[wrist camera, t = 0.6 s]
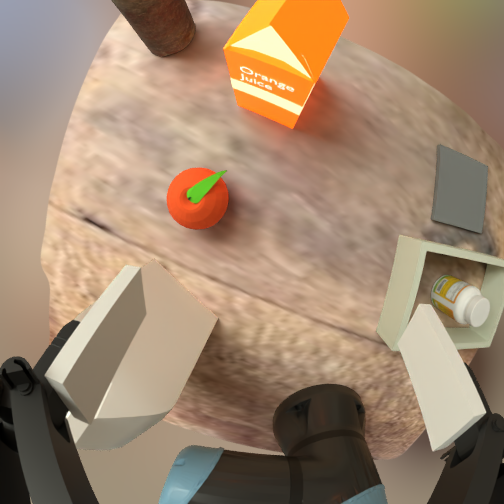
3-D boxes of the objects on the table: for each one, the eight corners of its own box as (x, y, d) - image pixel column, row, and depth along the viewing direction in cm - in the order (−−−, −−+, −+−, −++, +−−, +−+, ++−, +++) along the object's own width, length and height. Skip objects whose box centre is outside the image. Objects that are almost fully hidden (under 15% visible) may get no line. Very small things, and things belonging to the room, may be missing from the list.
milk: (166, 366, 38) (94, 505, 13) (110, 314, 37) (-8, 417, 11) (218, 317, 36) (160, 486, 11) (154, 258, 35) (4, 352, 10)
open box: (470, 332, 36) (489, 346, 30) (375, 331, 36) (392, 350, 30) (492, 255, 33) (515, 262, 28) (399, 234, 34) (421, 241, 28)
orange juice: (236, 105, 31) (210, 9, 12) (265, 54, 30) (268, -54, 10) (293, 130, 32) (332, 50, 12) (320, 76, 30) (369, -20, 11)
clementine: (213, 153, 33) (201, 142, 26) (250, 195, 33) (247, 193, 26) (166, 197, 34) (144, 196, 27) (201, 238, 35) (187, 247, 28)
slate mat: (478, 232, 33) (481, 233, 32) (430, 219, 33) (433, 219, 32) (484, 166, 31) (487, 166, 30) (437, 145, 31) (440, 144, 30)
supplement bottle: (452, 305, 35) (488, 328, 26) (427, 309, 35) (463, 336, 26) (457, 272, 34) (496, 290, 25) (431, 275, 34) (471, 295, 25)
